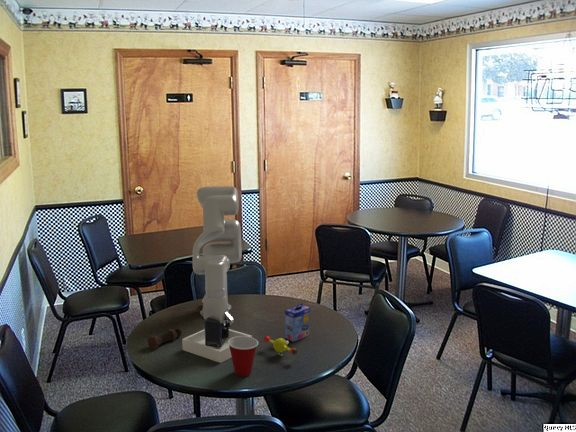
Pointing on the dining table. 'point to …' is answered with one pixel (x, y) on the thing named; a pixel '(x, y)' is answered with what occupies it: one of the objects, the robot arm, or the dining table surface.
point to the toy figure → (280, 345)
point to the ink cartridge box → (297, 322)
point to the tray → (198, 346)
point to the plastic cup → (242, 354)
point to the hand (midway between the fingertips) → (217, 335)
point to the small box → (213, 333)
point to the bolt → (163, 338)
